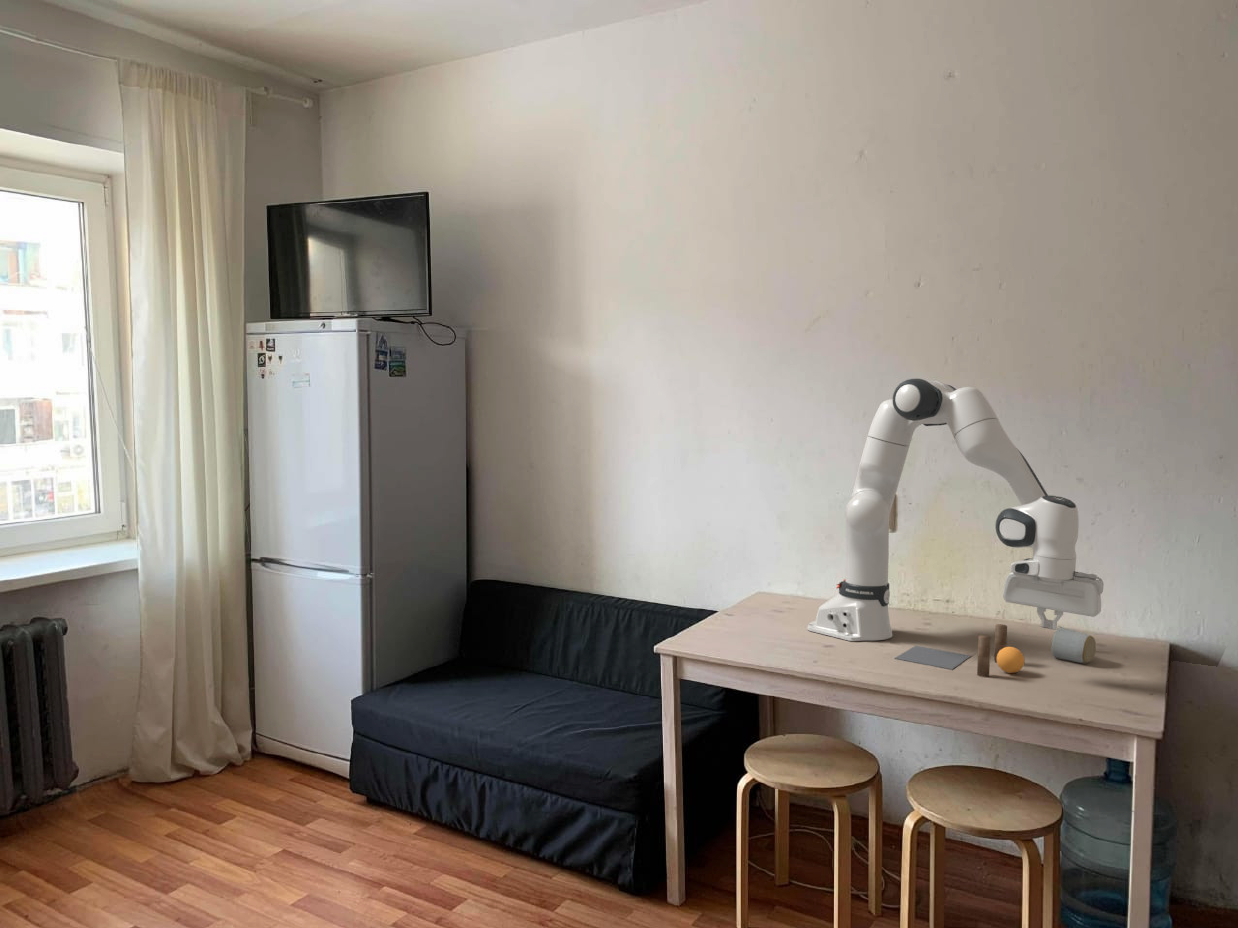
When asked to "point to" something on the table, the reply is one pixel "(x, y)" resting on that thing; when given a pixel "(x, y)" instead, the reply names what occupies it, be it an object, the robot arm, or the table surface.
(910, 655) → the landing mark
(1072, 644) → the grey cylinder
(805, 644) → the table surface
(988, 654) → the post near
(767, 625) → the table surface
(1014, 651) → the ball
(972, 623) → the table surface
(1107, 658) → the table surface
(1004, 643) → the post far
